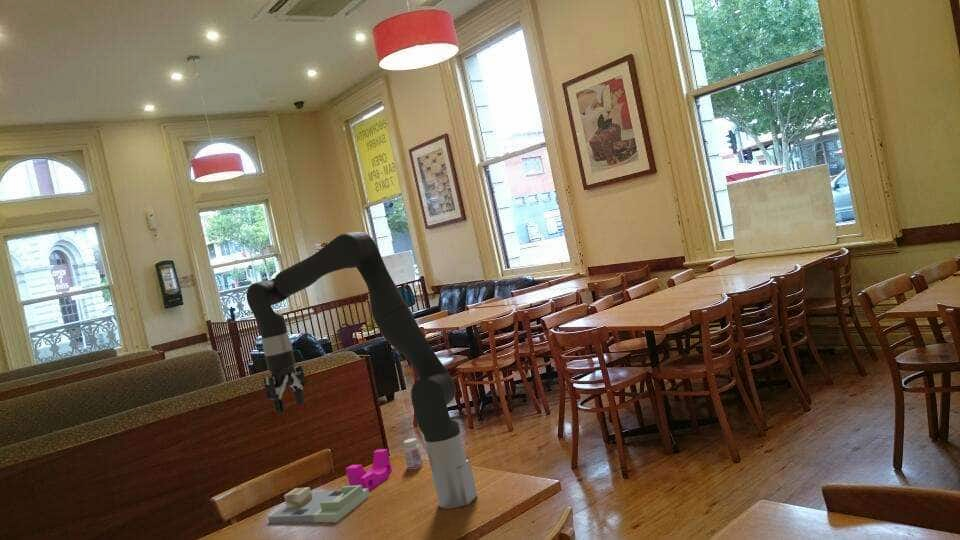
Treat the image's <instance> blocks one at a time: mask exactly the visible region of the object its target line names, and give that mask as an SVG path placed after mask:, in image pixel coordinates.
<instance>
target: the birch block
mask: <svg viewBox="0 0 960 540" xmlns="http://www.w3.org/2000/svg"><path fill="white" fill-rule="evenodd" d="M311 492H312V489H311V487H310V486H307V487H305V486H304V487H296V488H293V489H292V490H291V491H289V492H286V493H285V494H284V495H283V497H284V500H285V501H284V502H285V505H286V506H287V508H294V507H302V506H304V505H305V504H307V503H308V502H309V501H311V500H312V494H311Z"/></svg>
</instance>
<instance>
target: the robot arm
mask: <svg viewBox="0 0 960 540" xmlns="http://www.w3.org/2000/svg"><path fill="white" fill-rule="evenodd" d="M355 268H356V269H357V271H358V272H359V274H360V275H361V277H362V279H363V280H364V283H365V284H366V288H367V291H368V295H369V296H368V297H369V303H370V304H369V305H370V312H371V317H372V318H373V320H374V323H375V324H376V326H377V328H378V329H379V331H380V333H381V335H382V337H383V338H384V339H385V341H386V342H387V343H389V345H390V346H392V348H394V350H396V351H397V352H398V353H400V354H401V355H402V356H403V357H405V358H406V359H407V361H408V362H409V363H410V364H411V366H412V367H413V369H414V371H415V372H416V374H417V376H418V379H417V380H416V381H415V382H414V383H413V384H412V386H411V390H410V397H411V404H412V408H413V412H414V415H415V419H416V422H417V426H418V429H419V431H420V432H421V433H422V435H423V439H424V443H425V447H426V452H427V457H428V461H429V466H430V471H431V474H432V475H431V476H432V479H433V485H434V489H435V493H436V498H437V503H438V506H439V508H441V509H444V510H450V509H452V510H453V509H456V508H461V507H464V506H465V507H466V506H469V505H470V504H471V503H472V502H473V501H474V500H475V499H476V497H478V492H477V487H476V483H475V479H474V474H473V470H472V464H471V460H470V459H467V457H466V452H465V447H464V443H463V439H462V434H461V433H462V432H461V429H460V425H459V422H458V421H457V420H456V419H452V418H451V417H450V413H449V410H448V406H447V405H449V404H450V403H451V402H453V400H454V399H455V396H456V392H457V391H456V388H457V387H456V383H455V381H454V379H453V377H452V375H451V374H450V373H449V371H448V369H447V368H446V367H445V365H444V364H443V363H442V361H441V360H440V359H439V357H438V356H437V354H436V352H435V351H434V350H433V348H432V347H431V345H430V344H429V342H428V339H427V338H426V336H425V335H424V333H423V331H422V330H421V327H420V326H419V324H418V322H417V320H416V319H415V317H414V315H413V312H412V311H411V310H410V308H409V305H407V303H406V300H404V298H403V296H402V294H401V292H400V291H399V288H398V287H397V285H396V283H395V282H394V280H393V278H392V277H391V274H390V273H389V271H388V269H387V267H386V264H385V262H384V259H383V257H382V255H381V252H380V251H379V248H378V247H377V244H376V242H375V241H374V239H373V238H372V237H371V236H370V235H369V234H368V233H366V232H364V231H351V232H350V231H349V232H344V233H341V234H338V236H336V237H335V238H333V239H332V240H331V241H330V242H329V243H327V244H326V245H324V246H323V247H322V248H321V249H319V250H318V251H317V252H315V253H314V254H312V255H311V256H309V257H307V258H305V259H302V260H301V261H299V262H296V263H295V264H292V265H290V266H288V267H287V268H285V269H283V270H282V271H280V272H278V273H277V274H276V275H275V277H274V278H270V279H269V280H265V281H264V280H263V281H259V282H258V281H257V282H254V283H252V284H250V285H249V286H248V288H247V291H246V301H247V302H246V303H247V304H248V306H249V308H250V311H251V313H252V315H253V316H254V319H255V320H256V321H257V323H258V328H259V332H260V335H261V339H262V349H263V353H264V358H265V363H266V367H267V371H269V372H270V373H271V376H269V377H264V378H263V385H264V390H265V395H266V399H267V400H268V401H269V400H271V401H273V404H274V407H275V411H276V413H277V414H283V413H285V411H286V410H285V409H286V408H285V405H284V402H283V401H284V400H283V394H284V392H285V390H286V388H288V387H290V388H292V389H293V394H294V398H295V402H296V404H297V405H302V404H304V403H305V398H304V392H303V389H304V387H306V386H307V380H306V377H305V373H304V369H303V366H302V365H298V366H297V365H296V359H295V356H294V351H293V346H292V341H291V338H290V336H289V333H288V327H287V324H286V320H285V317H284V314H282V313H276V312H275V311H274V309H273V307H272V306H275V305H278V304H279V303H281V302H284V301H286V299H288V298H289V297H290V296H292V295H295V294H297V293H299V292H300V291H304V289H306V288H309V287H310V286H312V285H313V284H314V283H316V282H317V281H318V280H319V279H321V278H322V277H324V276H326V275H328V274H330V273H333V272H335V271H336V272H337V271H340V270H345V269H355ZM295 365H296V366H295Z"/></svg>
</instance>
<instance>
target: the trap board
mask: <svg viewBox="0 0 960 540" xmlns="http://www.w3.org/2000/svg"><path fill="white" fill-rule="evenodd" d="M369 491H370V490H368V488H366V489H363V488H362V485H354V486H350V485H343V486H342V487H341V489H336V490H322V491H320V490H319V491H311V494H312V500H311V501H309V502H308V503H307V504H305V505H304V506H302V507H294V508H287V506H286V504H285V505H284V506H282V507H281V508H279V509H278V510H276V511H275V512H273V513H272V514H271V515H268V517H267V519H268V523H269V524H273V523H274V524H280V523H279V522H282V523H283V524H285V523H284V522H333V523H338V522H340V521H341V520H342V519H344V517H346V516H347V515H348V514H349V513H351V512H352V511H353V510H355V508H357V507H359V506H360V505H361V504H362V503H364V501H366V500H367V499H368V498H370V497H371V494H370V492H369ZM282 523H281V524H282Z"/></svg>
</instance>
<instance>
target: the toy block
mask: <svg viewBox="0 0 960 540" xmlns="http://www.w3.org/2000/svg"><path fill="white" fill-rule="evenodd" d="M372 461H373V462H372V465H371V467H370V468H369V470H368V471H366V470H365V469H364V467H363V464H351V465H349V466H348V467H346V468H345V472H346V476H347V480H348V484H349V485H348V486H354V485H362V488H363V489H366V488H368V490H369V491H371V490H372V489H374V488H376V486H378V485H380V484H381V483H383V482H384V481H386V480H387V479H389V478H390V475H389V474H390V473H391V472H393V470H392V469H393V468H392V464H391V460H390V454H389V451H388V448H383V449H381V448H380V449H376V450H375V451H373V460H372Z"/></svg>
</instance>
